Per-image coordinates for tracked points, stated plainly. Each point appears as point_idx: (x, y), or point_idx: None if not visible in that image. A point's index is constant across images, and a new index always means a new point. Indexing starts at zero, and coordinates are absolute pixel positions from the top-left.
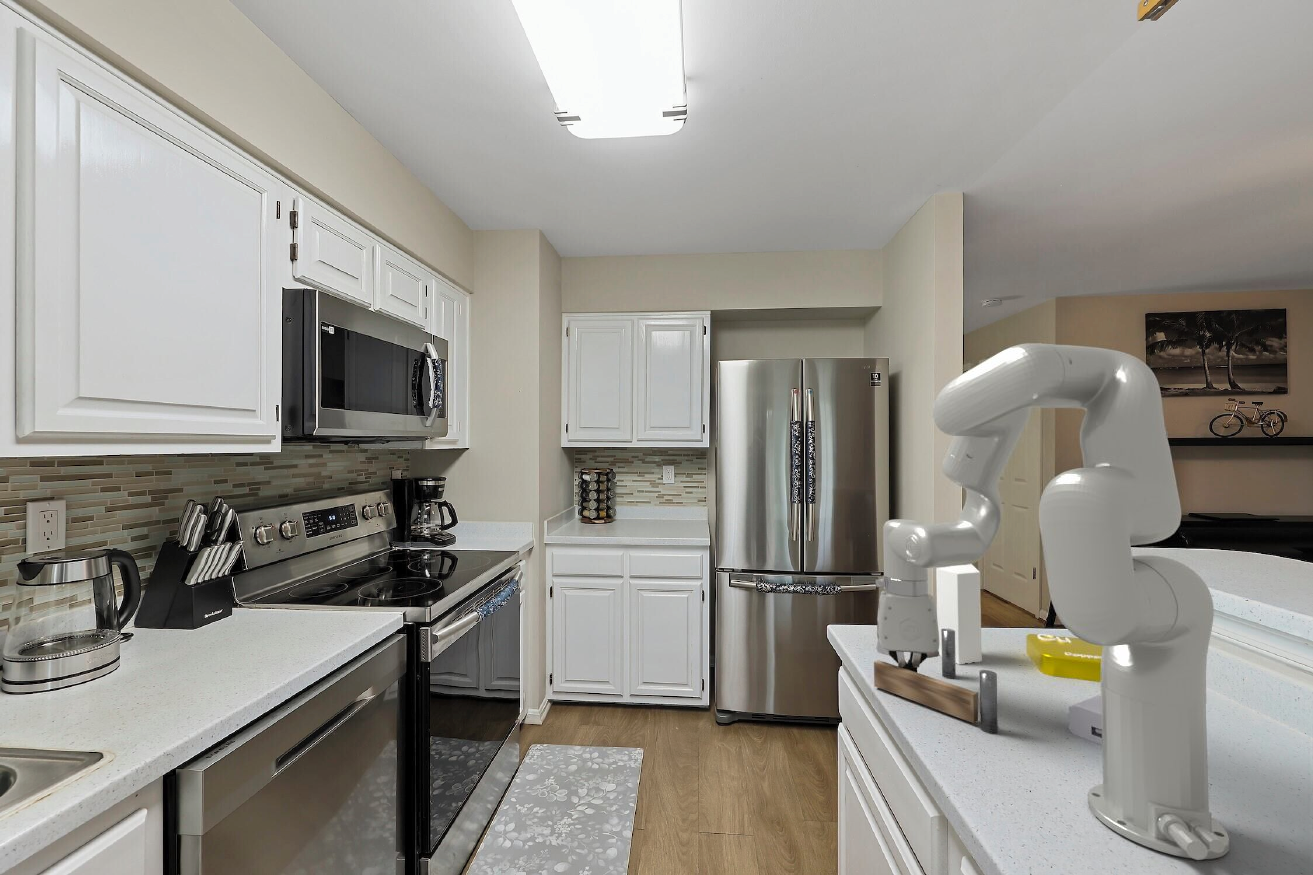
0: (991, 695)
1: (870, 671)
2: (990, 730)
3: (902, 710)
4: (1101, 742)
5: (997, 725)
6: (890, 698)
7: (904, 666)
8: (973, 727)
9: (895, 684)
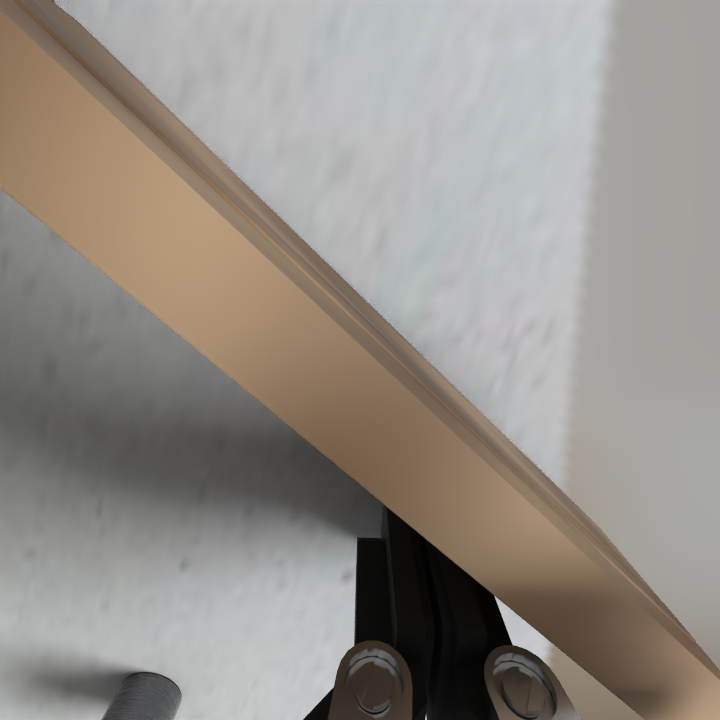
0: None
1: None
2: None
3: (532, 231)
4: None
5: None
6: (543, 404)
7: (480, 656)
8: (102, 16)
9: (536, 478)
